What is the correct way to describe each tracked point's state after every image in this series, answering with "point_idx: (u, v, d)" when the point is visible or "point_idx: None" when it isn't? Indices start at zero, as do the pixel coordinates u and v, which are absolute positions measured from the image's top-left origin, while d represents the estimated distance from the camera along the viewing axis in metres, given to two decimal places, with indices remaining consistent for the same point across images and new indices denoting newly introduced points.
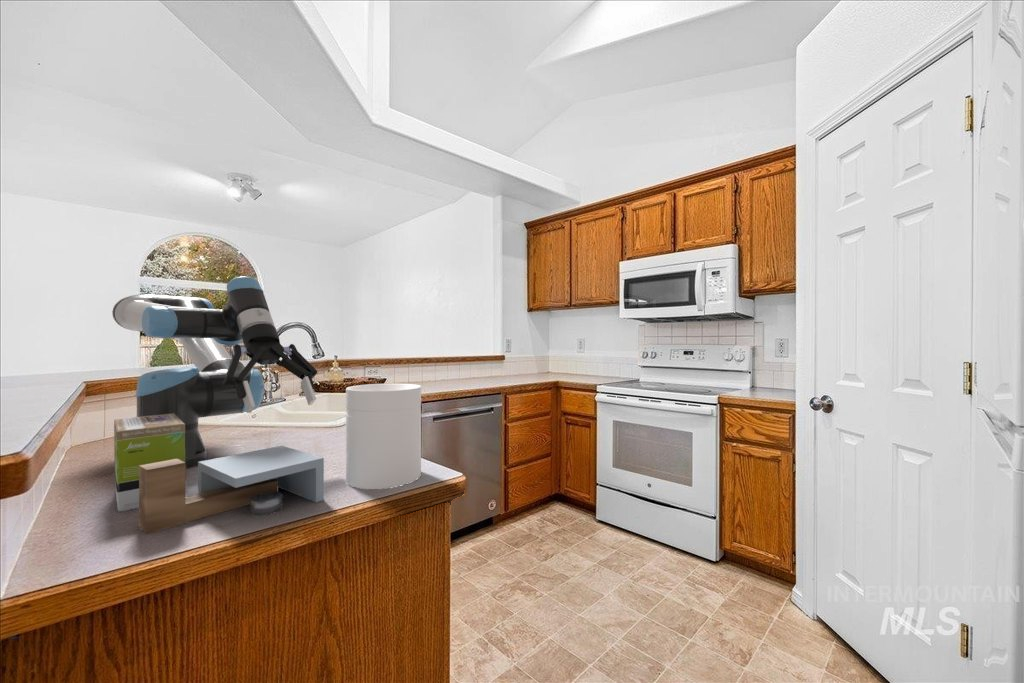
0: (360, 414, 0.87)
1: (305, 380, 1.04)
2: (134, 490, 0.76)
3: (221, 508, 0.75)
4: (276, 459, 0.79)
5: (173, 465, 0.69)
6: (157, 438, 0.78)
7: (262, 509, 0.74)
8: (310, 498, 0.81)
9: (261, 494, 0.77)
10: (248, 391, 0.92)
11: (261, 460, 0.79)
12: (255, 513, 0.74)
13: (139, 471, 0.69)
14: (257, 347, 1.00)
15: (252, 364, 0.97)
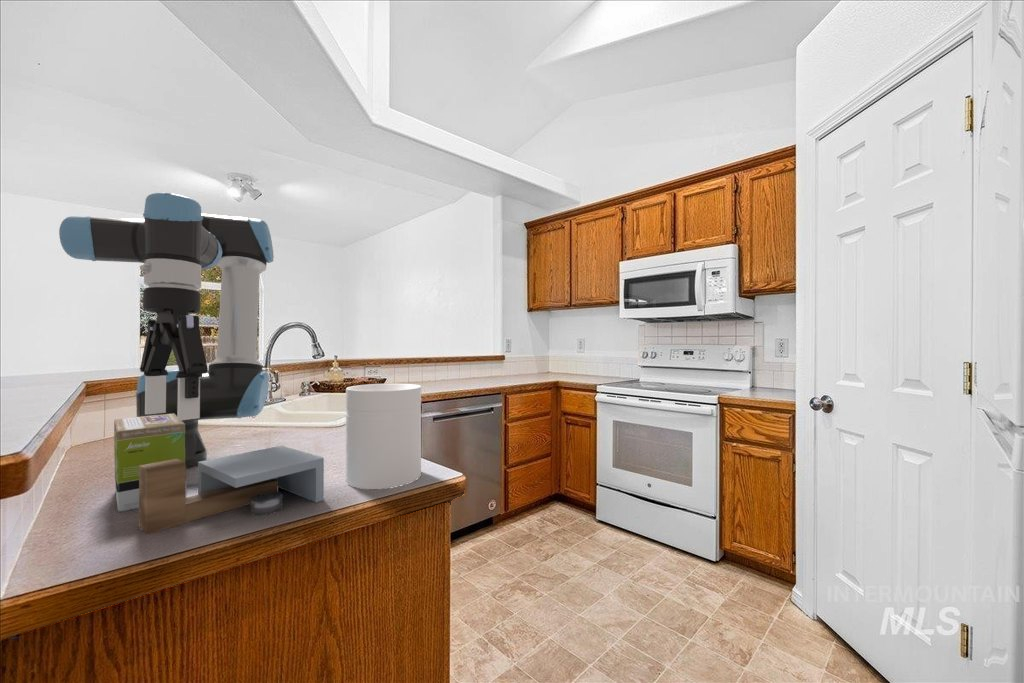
0: (360, 414, 0.87)
1: None
2: (134, 490, 0.76)
3: (221, 508, 0.75)
4: (276, 459, 0.79)
5: (173, 465, 0.69)
6: (157, 438, 0.78)
7: (262, 509, 0.74)
8: (310, 498, 0.81)
9: (261, 494, 0.77)
10: (145, 392, 0.73)
11: (261, 460, 0.79)
12: (255, 513, 0.74)
13: (139, 471, 0.69)
14: (159, 322, 0.71)
15: (153, 351, 0.72)
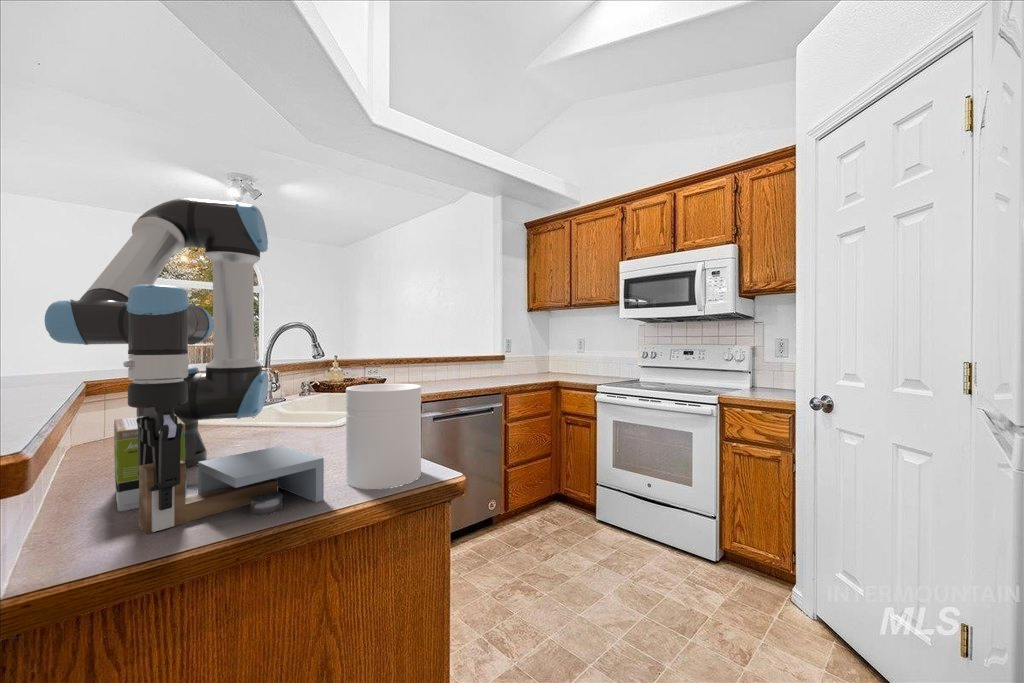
0: (360, 414, 0.87)
1: None
2: (134, 490, 0.76)
3: (221, 508, 0.75)
4: (276, 459, 0.79)
5: None
6: None
7: (262, 509, 0.74)
8: (310, 498, 0.81)
9: (261, 494, 0.77)
10: None
11: (261, 460, 0.79)
12: (255, 513, 0.74)
13: (139, 471, 0.69)
14: (145, 412, 0.70)
15: (145, 450, 0.69)
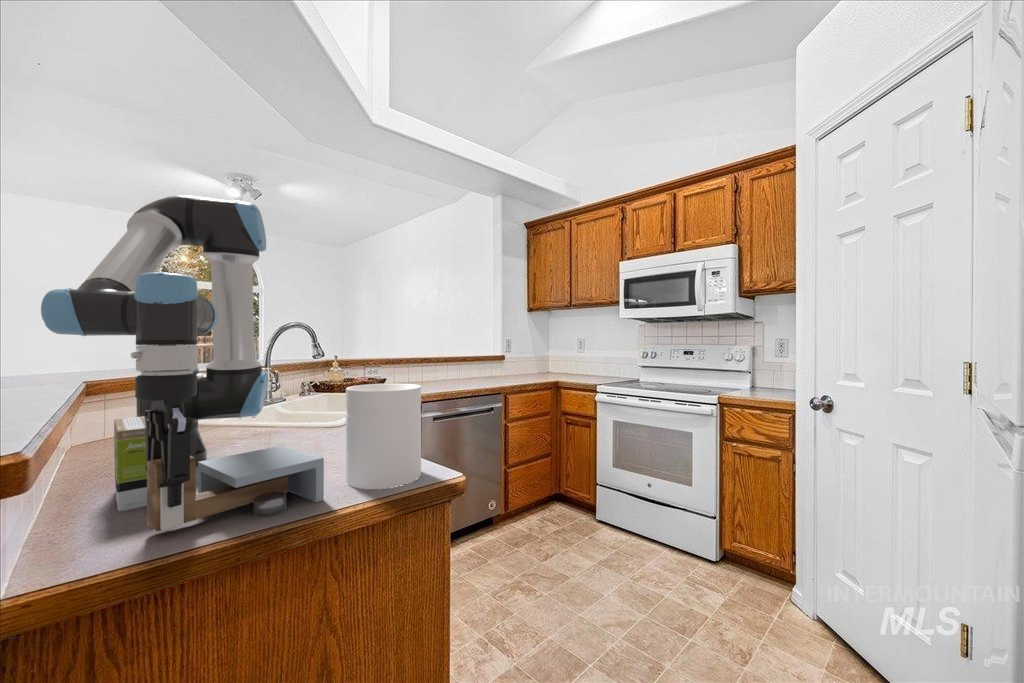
0: (360, 414, 0.87)
1: None
2: (135, 490, 0.76)
3: (231, 505, 0.73)
4: (276, 459, 0.79)
5: None
6: None
7: (265, 510, 0.73)
8: (310, 498, 0.81)
9: (265, 494, 0.77)
10: None
11: (261, 460, 0.79)
12: (259, 513, 0.73)
13: (147, 467, 0.66)
14: (154, 405, 0.67)
15: (153, 445, 0.67)
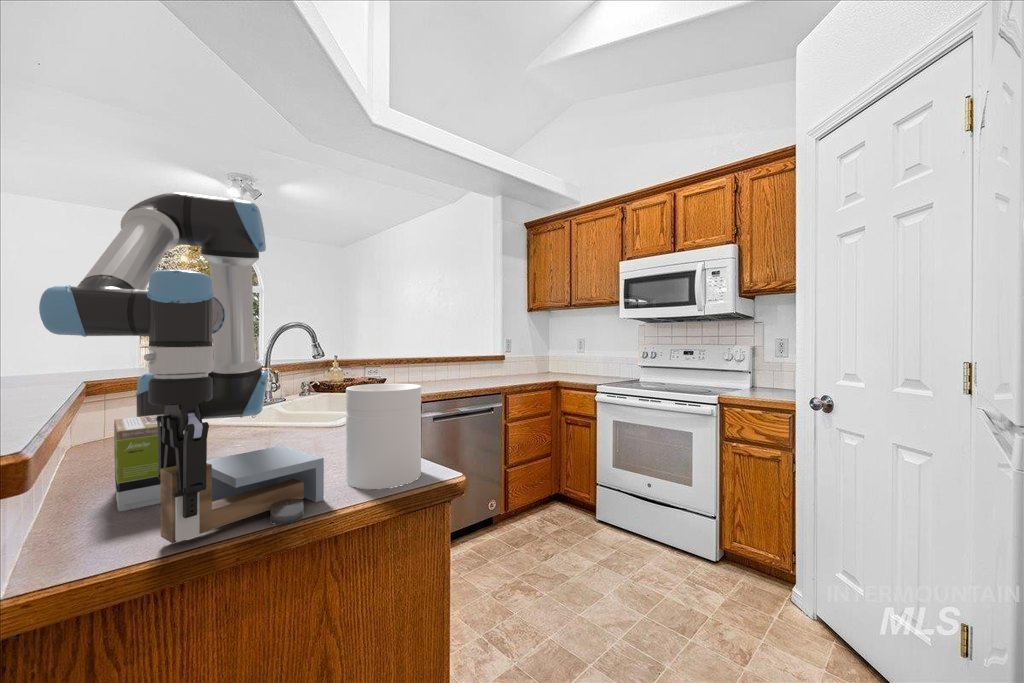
0: (360, 414, 0.87)
1: None
2: (134, 490, 0.76)
3: (248, 513, 0.69)
4: (276, 459, 0.79)
5: None
6: (157, 438, 0.78)
7: (283, 518, 0.70)
8: (310, 498, 0.81)
9: (281, 501, 0.73)
10: None
11: (261, 460, 0.79)
12: (276, 522, 0.70)
13: (160, 475, 0.62)
14: (167, 410, 0.63)
15: (166, 452, 0.63)
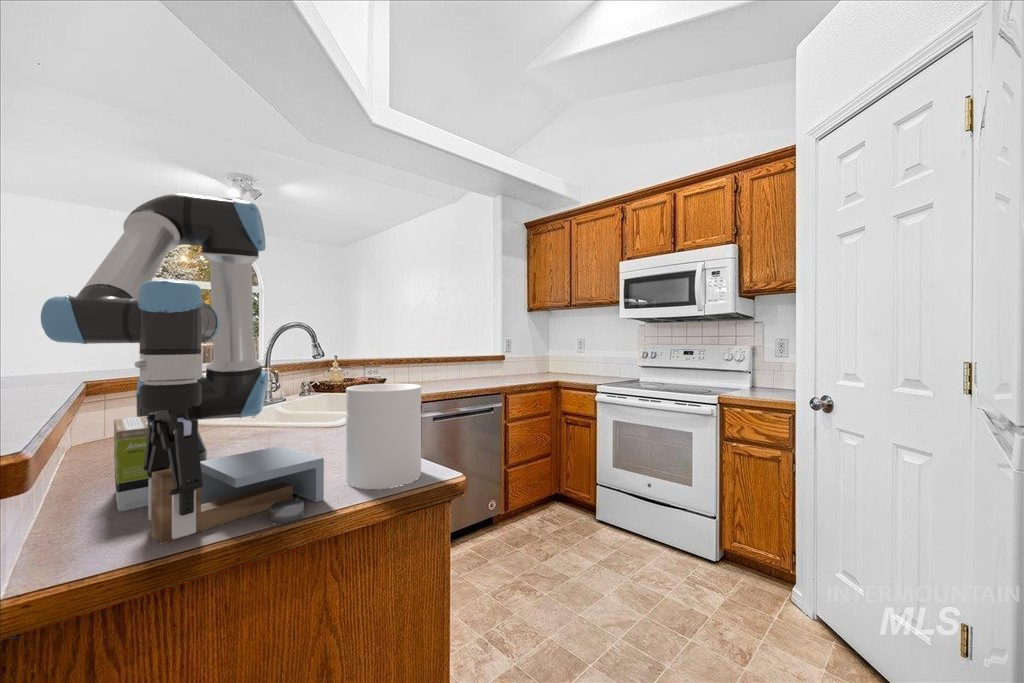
0: (360, 414, 0.87)
1: None
2: (134, 490, 0.76)
3: (236, 515, 0.72)
4: (276, 459, 0.79)
5: None
6: None
7: (283, 518, 0.70)
8: (310, 498, 0.81)
9: (281, 502, 0.73)
10: (149, 496, 0.68)
11: (261, 460, 0.79)
12: (276, 522, 0.70)
13: (152, 478, 0.65)
14: (158, 417, 0.66)
15: (154, 450, 0.67)
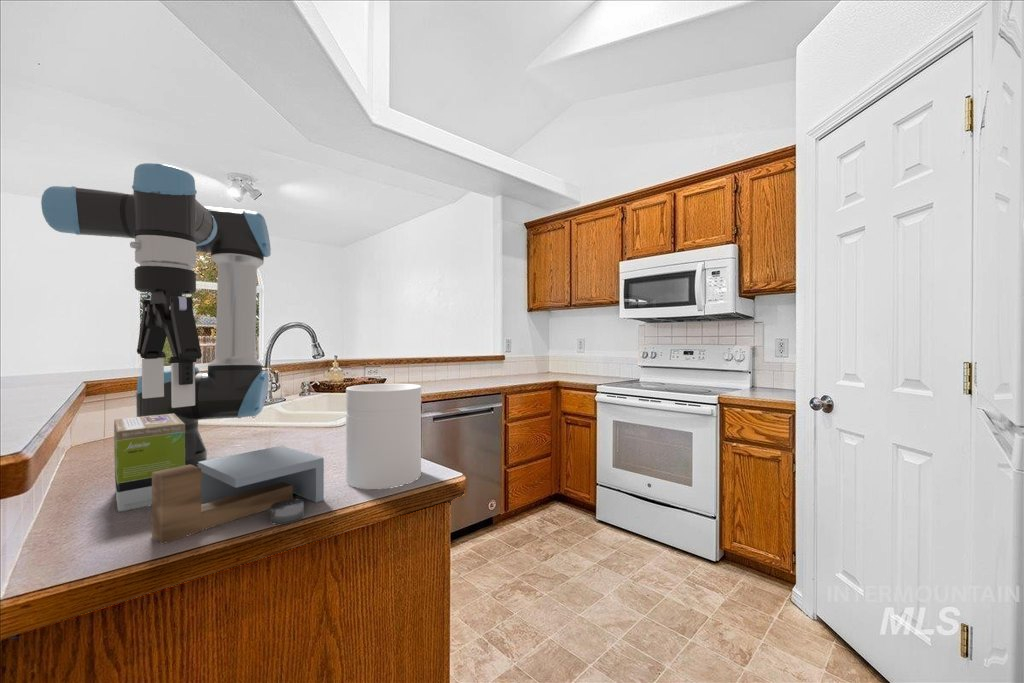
0: (360, 414, 0.87)
1: None
2: (134, 490, 0.76)
3: (236, 515, 0.72)
4: (276, 459, 0.79)
5: (189, 471, 0.66)
6: (157, 438, 0.78)
7: (283, 518, 0.70)
8: (310, 498, 0.81)
9: (281, 502, 0.73)
10: (142, 375, 0.70)
11: (261, 460, 0.79)
12: (276, 522, 0.70)
13: (152, 478, 0.65)
14: (153, 303, 0.67)
15: (148, 333, 0.69)
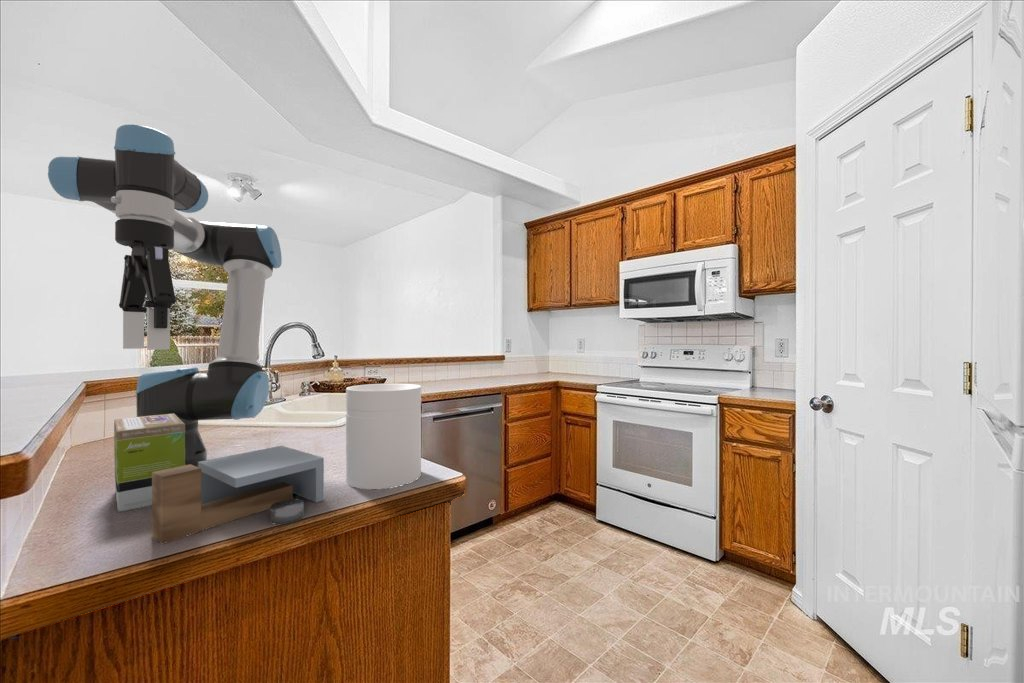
0: (360, 414, 0.87)
1: None
2: (134, 490, 0.76)
3: (236, 515, 0.72)
4: (276, 459, 0.79)
5: (189, 471, 0.66)
6: (157, 438, 0.78)
7: (283, 518, 0.70)
8: (310, 498, 0.81)
9: (281, 502, 0.73)
10: (123, 327, 0.75)
11: (261, 460, 0.79)
12: (276, 522, 0.70)
13: (152, 478, 0.65)
14: None
15: (128, 286, 0.73)
